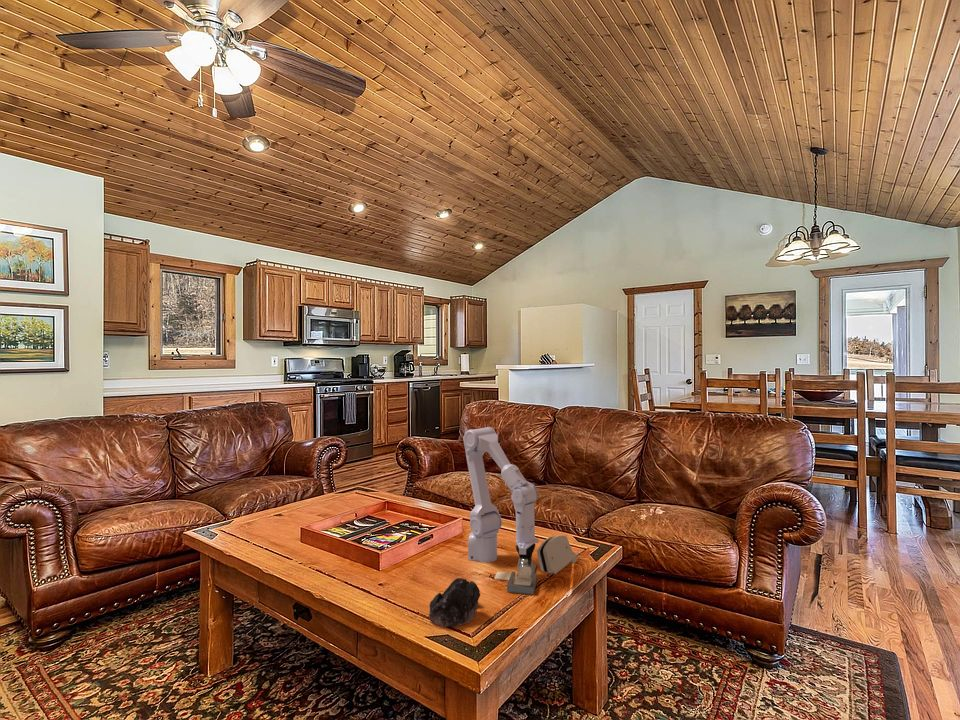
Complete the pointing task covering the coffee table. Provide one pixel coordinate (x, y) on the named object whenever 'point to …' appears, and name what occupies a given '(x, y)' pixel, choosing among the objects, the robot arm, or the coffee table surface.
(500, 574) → the pad
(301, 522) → the coffee table surface
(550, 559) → the grey rounded housing
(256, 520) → the coffee table surface
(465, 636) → the coffee table surface
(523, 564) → the block
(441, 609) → the black rock
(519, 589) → the flange rail
